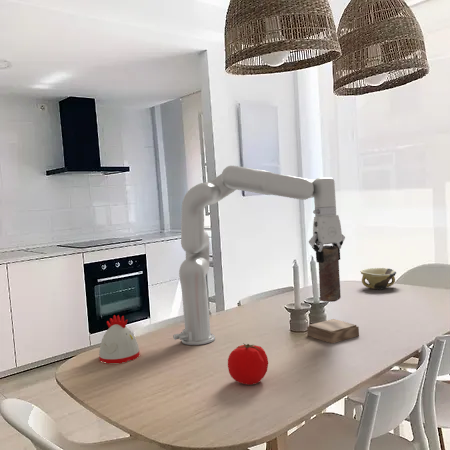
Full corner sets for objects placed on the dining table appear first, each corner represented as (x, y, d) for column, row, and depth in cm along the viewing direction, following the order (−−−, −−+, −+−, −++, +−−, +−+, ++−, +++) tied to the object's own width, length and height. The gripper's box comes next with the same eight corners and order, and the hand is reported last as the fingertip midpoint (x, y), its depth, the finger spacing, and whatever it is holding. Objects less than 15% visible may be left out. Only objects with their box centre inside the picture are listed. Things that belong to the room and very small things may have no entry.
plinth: (331, 343, 170) (330, 332, 170) (307, 335, 182) (306, 324, 182) (359, 335, 177) (358, 324, 177) (334, 328, 188) (333, 318, 188)
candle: (340, 298, 182) (336, 244, 180) (342, 302, 174) (339, 246, 173) (319, 299, 183) (315, 245, 181) (321, 303, 175) (317, 248, 174)
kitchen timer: (126, 365, 164) (122, 320, 163) (91, 363, 169) (87, 320, 168) (146, 351, 177) (143, 310, 176) (114, 350, 182) (110, 310, 181)
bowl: (363, 292, 248) (362, 273, 247) (359, 285, 265) (358, 268, 265) (399, 291, 245) (398, 272, 244) (393, 284, 262) (392, 266, 262)
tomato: (239, 393, 134) (236, 352, 133) (222, 379, 144) (219, 342, 144) (277, 383, 139) (274, 344, 138) (258, 371, 149) (256, 335, 148)
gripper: (313, 214, 169) (316, 265, 170) (350, 210, 178) (353, 258, 179) (299, 214, 176) (303, 263, 177) (336, 210, 184) (339, 257, 185)
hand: (328, 260), depth 178 cm, fingers closed on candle, 7 cm apart
